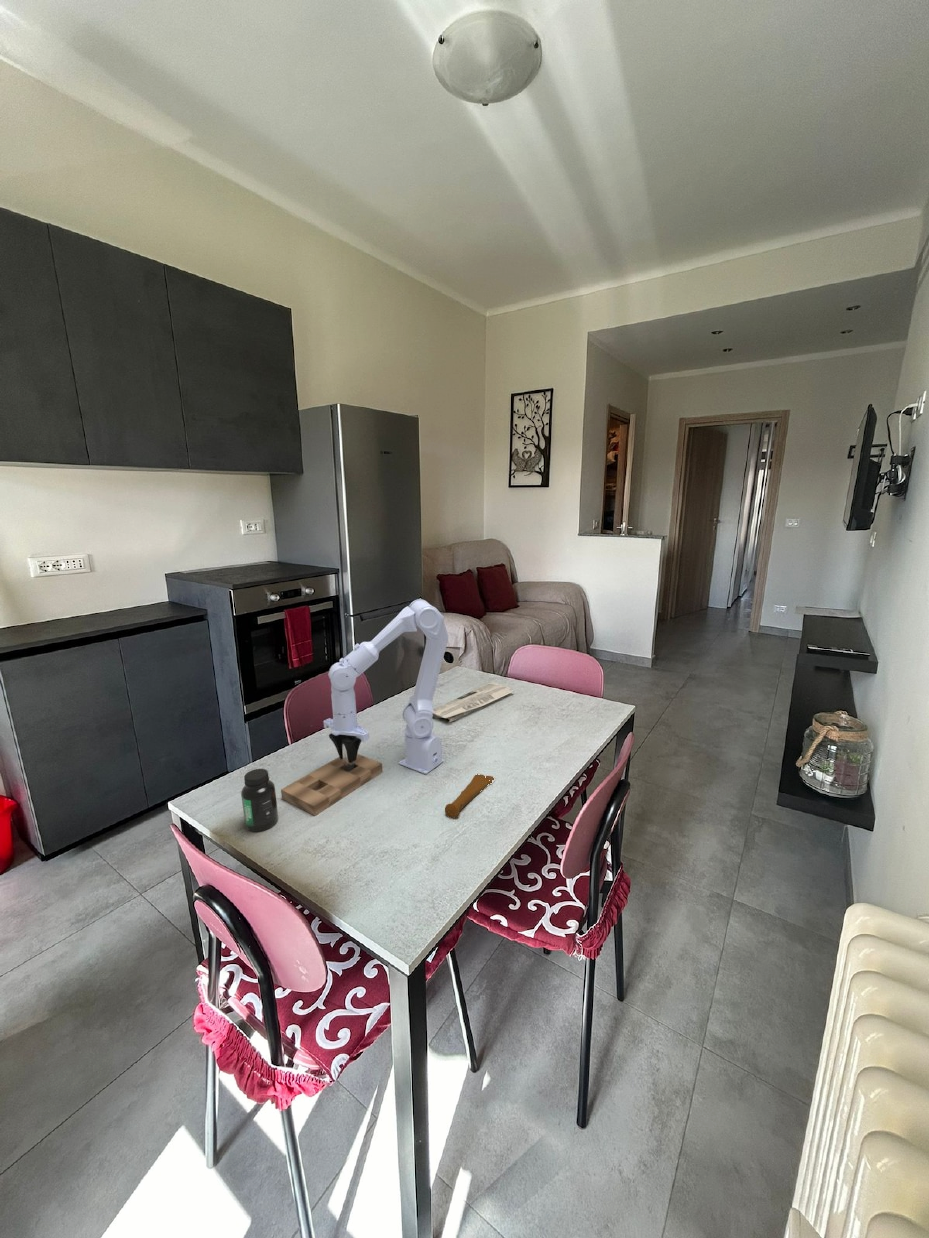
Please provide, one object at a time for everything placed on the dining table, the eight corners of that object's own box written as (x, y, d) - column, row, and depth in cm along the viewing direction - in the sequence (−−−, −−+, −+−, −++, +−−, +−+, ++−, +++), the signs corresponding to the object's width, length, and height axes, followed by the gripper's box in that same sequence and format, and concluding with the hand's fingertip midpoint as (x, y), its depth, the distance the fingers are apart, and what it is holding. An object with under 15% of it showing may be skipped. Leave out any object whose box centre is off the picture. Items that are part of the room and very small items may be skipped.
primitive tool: (476, 774, 128) (476, 762, 127) (496, 779, 125) (496, 767, 125) (442, 817, 111) (442, 804, 110) (465, 824, 109) (464, 810, 108)
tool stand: (382, 771, 129) (382, 763, 128) (315, 815, 111) (314, 806, 111) (350, 758, 136) (349, 750, 135) (281, 798, 118) (280, 789, 117)
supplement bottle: (249, 836, 105) (243, 786, 102) (242, 820, 110) (235, 772, 107) (282, 824, 109) (276, 775, 106) (273, 809, 114) (268, 762, 111)
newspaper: (489, 686, 187) (489, 678, 187) (516, 694, 180) (516, 685, 179) (423, 718, 161) (423, 708, 160) (452, 729, 153) (452, 718, 153)
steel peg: (356, 769, 127) (354, 741, 126) (348, 774, 125) (346, 745, 123) (349, 766, 129) (347, 738, 127) (341, 771, 127) (339, 742, 125)
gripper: (312, 709, 124) (317, 757, 127) (352, 722, 116) (356, 774, 119) (334, 699, 130) (338, 746, 133) (374, 712, 122) (377, 761, 125)
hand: (348, 759), depth 126 cm, fingers closed on steel peg, 3 cm apart
